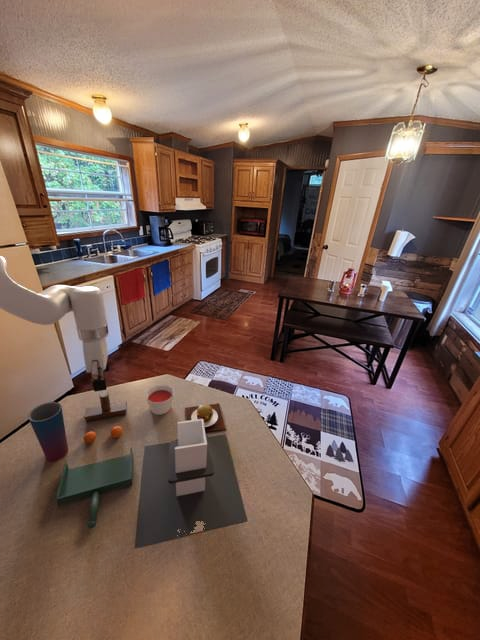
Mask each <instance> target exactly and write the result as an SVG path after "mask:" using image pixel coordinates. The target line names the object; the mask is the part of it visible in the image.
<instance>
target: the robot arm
mask: <svg viewBox="0 0 480 640" xmlns="http://www.w3.org/2000/svg"><path fill="white" fill-rule="evenodd" d="M7 268H8V262H7V260H6V258H5V257H3V256H2V255H0V309H1V310H3V311H4V312H6V313H8V314H10V315H12V316H14V317H17V318H19V319H22V320H24V321H26V322H30V323H32V324H37V325H41V326H42V325H43V326H49V325H53V324H56V323H57V322H59V321H60V320H61V319H62V318H63V317H64V316H66V315H67V314H68V313H71V312H72V314H73V318H74V322H75V326H76V332H77V337H78V339H79V340H80V341H81V342H82V353H83V361H84V367H85V372H86V373H87V374H90V373H91V382H92V387H93V391H94V392H103V391H105V390H107V382H106V377H104V373H105V372H110V365H109V360H108V356H109V353H108V351H109V350H108V344H107V339H106V338H107V337H109V334H110V333H109V327H108V320H107V314H106V308H105V301H104V300H105V299H104V295H103V292H102V290H101V289H100V288H99V287H96V286H81V287H79V286H78V287H77V286H71V285H65V284H54V285H51V286H49V287H47V288H45V289H44V290H41V291H40V292H38V293H36V292H35V291H33V290H30V289H28V288H26V287H24V286H23V285H20V284H18V283H17V282H16V281H15V280H13V279H12V278H11V277H10V276H9V275H8V273H7ZM99 373H100V374H99Z"/></svg>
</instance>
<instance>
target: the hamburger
mask: <svg viewBox="0 0 480 640" xmlns="http://www.w3.org/2000/svg"><path fill="white" fill-rule="evenodd" d="M184 410H185V419H186V420H185V421H190V420H197V419H203V422H204V428H205V434H209V433H215V432H222V431H226V430H227V429H226V425H225V420H224V418H223V413H222V410H221V406H220V403H211V404H208V403H201V404H200V405H195V406H188V407H187V406H186V407H184Z"/></svg>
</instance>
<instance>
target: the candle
mask: <svg viewBox="0 0 480 640" xmlns="http://www.w3.org/2000/svg"><path fill="white" fill-rule="evenodd" d="M174 394H175V391H174V389H173V387H172V386H169V385H166V384H160V385H155V386H153V387H150V388H149V389H148V390H147V392H146V393H145V397H146V401H147V404H148V407H149V409H150V411H151V413H152V414H154V415H157V416H158V415H160V416H161V415H165V414H167V413H169V411H170V410H171V408H172V404H173V400H174Z"/></svg>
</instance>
